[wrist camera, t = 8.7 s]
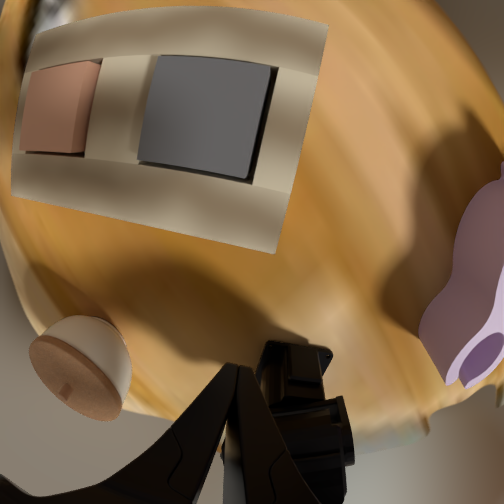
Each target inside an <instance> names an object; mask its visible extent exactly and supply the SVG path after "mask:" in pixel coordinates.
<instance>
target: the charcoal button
mask: <svg viewBox="0 0 504 504" xmlns="http://www.w3.org/2000/svg"><path fill="white" fill-rule="evenodd" d="M270 85H271V75H270V66H265V65H259V64H253V63H247V62H240V61H233V60H224V59H215V58H203V57H186V56H158V59H157V62H156V66H155V70H154V74H153V78H152V82H151V86H150V90H149V94H148V99H147V104H146V108H145V113H144V118H143V124H142V129H141V135H140V141H139V148H138V154H137V160H141V161H149V162H156V163H162V164H169V165H175V166H181V167H187V168H193V169H198V170H204V171H209V172H215V173H220V174H225V175H230V176H235V177H240V178H244V179H245V178H246V176H247V175H248V174H249V173H250V172H251V168H252V164H253V159H254V155H255V150H256V146H257V141H258V137H259V133H260V128H261V124H262V119H263V115H264V111H265V106H266V102H267V98H268V94H269V89H270Z"/></svg>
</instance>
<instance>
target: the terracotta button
mask: <svg viewBox="0 0 504 504" xmlns="http://www.w3.org/2000/svg"><path fill="white" fill-rule="evenodd" d="M100 69H101V65H99V64H96V63H93V62H90V61H83V62H77V63H71V64H66V65H61V66H56V67H51V68H47V69H42V70H38V71H34V72H32V73H31V77H30V82H29V86H28V91H27V96H26V101H25V107H24V113H23V119H22V127H21V135H20V146H19V150H24V151H48V152H64V153H75V152H82V151H85V149H86V141H87V133H88V127H89V120H90V114H91V109H92V104H93V99H94V94H95V89H96V85H97V81H98V76H99V72H100Z"/></svg>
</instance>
